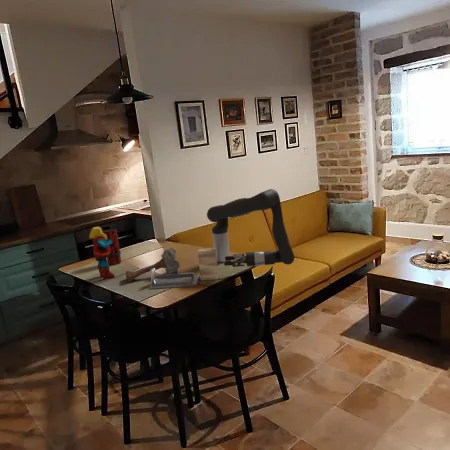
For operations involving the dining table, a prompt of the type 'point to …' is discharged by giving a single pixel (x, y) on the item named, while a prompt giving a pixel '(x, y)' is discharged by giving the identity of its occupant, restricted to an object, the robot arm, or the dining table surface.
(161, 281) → the rail
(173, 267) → the hammer
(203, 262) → the wooden block
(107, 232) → the dynamite
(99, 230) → the toy
